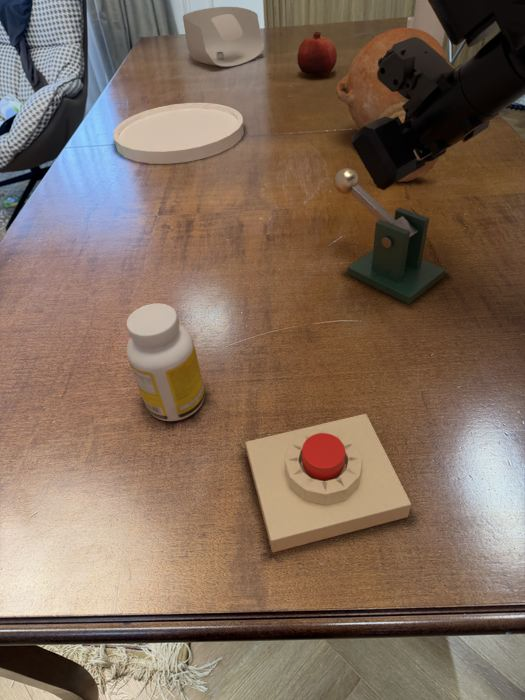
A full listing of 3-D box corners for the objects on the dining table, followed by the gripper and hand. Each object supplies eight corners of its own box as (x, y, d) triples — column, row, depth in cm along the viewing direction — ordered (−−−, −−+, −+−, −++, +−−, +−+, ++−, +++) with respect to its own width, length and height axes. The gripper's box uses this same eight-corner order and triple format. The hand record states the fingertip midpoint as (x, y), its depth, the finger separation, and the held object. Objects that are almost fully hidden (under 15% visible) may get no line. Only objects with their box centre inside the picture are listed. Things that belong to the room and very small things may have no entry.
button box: (247, 455, 49) (243, 429, 46) (364, 427, 50) (367, 401, 47) (272, 553, 42) (269, 530, 39) (408, 517, 43) (414, 492, 40)
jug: (465, 56, 98) (505, 133, 79) (395, 134, 110) (415, 217, 91) (389, -11, 90) (412, 57, 71) (323, 82, 102) (328, 160, 83)
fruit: (291, 74, 137) (289, 32, 130) (322, 67, 139) (323, 25, 133) (309, 84, 130) (309, 39, 123) (343, 76, 132) (345, 32, 125)
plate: (214, 168, 97) (212, 156, 95) (90, 158, 104) (87, 146, 103) (261, 116, 115) (260, 105, 114) (153, 111, 123) (151, 100, 121)
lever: (326, 186, 67) (334, 167, 64) (341, 177, 68) (350, 159, 65) (395, 253, 64) (407, 237, 61) (410, 243, 65) (422, 227, 62)
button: (297, 450, 44) (296, 438, 43) (336, 440, 45) (336, 428, 44) (309, 484, 42) (309, 473, 41) (350, 474, 42) (351, 462, 41)
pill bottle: (214, 383, 56) (197, 301, 48) (193, 429, 51) (170, 346, 43) (160, 374, 57) (135, 293, 49) (135, 418, 53) (104, 337, 45)
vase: (437, 103, 114) (454, -4, 100) (405, 105, 114) (418, -1, 100) (425, 87, 122) (440, -14, 108) (395, 89, 122) (406, -11, 108)
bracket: (347, 274, 69) (350, 219, 63) (383, 249, 73) (389, 196, 67) (408, 304, 63) (418, 248, 58) (444, 276, 67) (456, 220, 61)
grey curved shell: (228, 47, 163) (224, 4, 155) (266, 57, 151) (264, 10, 143) (176, 62, 154) (169, 17, 146) (213, 73, 143) (206, 24, 135)
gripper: (490, -8, 51) (388, 89, 65) (375, 32, 42) (286, 135, 56) (542, 90, 52) (432, 165, 66) (441, 149, 43) (338, 221, 57)
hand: (375, 169), depth 61 cm, fingers closed
